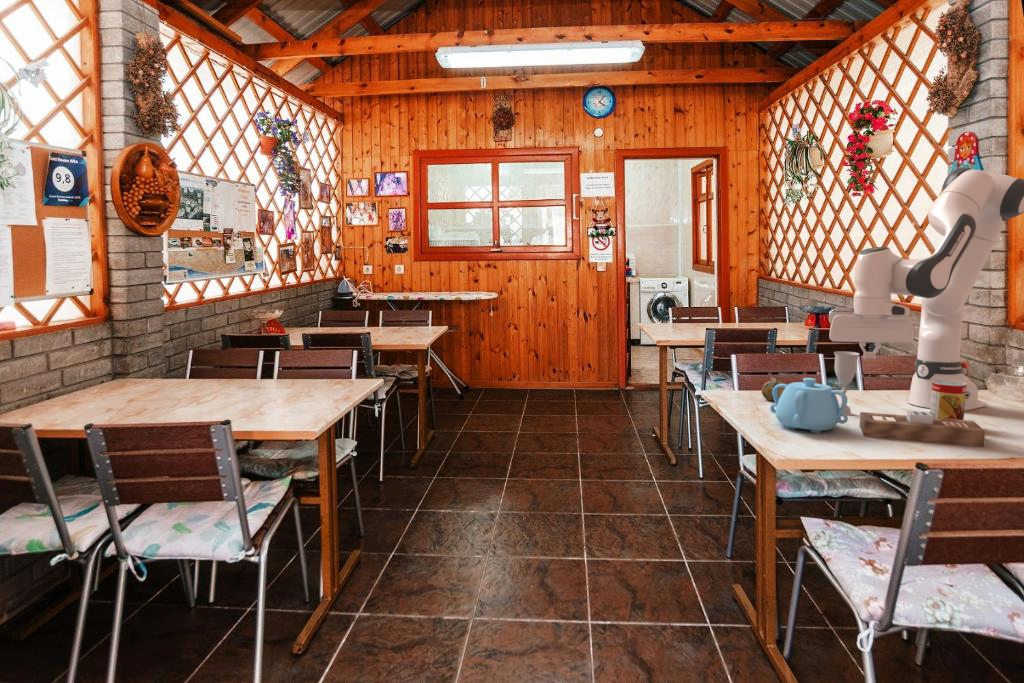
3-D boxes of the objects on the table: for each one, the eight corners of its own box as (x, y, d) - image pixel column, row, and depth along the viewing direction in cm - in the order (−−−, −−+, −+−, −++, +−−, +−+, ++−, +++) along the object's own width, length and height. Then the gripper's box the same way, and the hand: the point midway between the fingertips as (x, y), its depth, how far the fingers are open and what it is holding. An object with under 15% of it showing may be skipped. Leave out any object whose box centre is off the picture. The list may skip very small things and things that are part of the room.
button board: (864, 436, 172) (865, 421, 172) (859, 426, 182) (860, 411, 182) (983, 447, 163) (985, 431, 162) (971, 435, 173) (973, 420, 172)
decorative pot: (825, 421, 189) (827, 373, 187) (851, 435, 173) (854, 384, 171) (766, 420, 189) (768, 373, 188) (787, 435, 173) (790, 383, 172)
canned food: (969, 429, 179) (973, 385, 178) (940, 429, 180) (943, 385, 178) (951, 422, 187) (954, 379, 186) (922, 421, 187) (926, 379, 186)
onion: (791, 403, 211) (792, 378, 210) (766, 403, 211) (767, 378, 210) (782, 398, 218) (783, 374, 217) (757, 398, 219) (758, 374, 218)
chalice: (858, 416, 193) (863, 355, 191) (833, 415, 194) (837, 354, 192) (851, 411, 200) (855, 351, 198) (827, 410, 201) (830, 351, 199)
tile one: (874, 430, 174) (874, 419, 173) (871, 425, 178) (872, 415, 178) (895, 432, 172) (896, 421, 172) (892, 427, 177) (893, 416, 176)
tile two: (909, 425, 171) (910, 414, 170) (906, 420, 175) (907, 409, 175) (932, 427, 169) (933, 415, 168) (928, 422, 173) (929, 411, 173)
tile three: (945, 436, 168) (946, 425, 168) (940, 431, 173) (941, 420, 172) (968, 438, 166) (969, 427, 166) (963, 433, 171) (964, 422, 170)
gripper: (829, 308, 181) (827, 358, 183) (916, 309, 173) (914, 361, 175) (828, 306, 187) (826, 355, 189) (913, 307, 179) (910, 358, 180)
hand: (869, 358), depth 182 cm, fingers closed
